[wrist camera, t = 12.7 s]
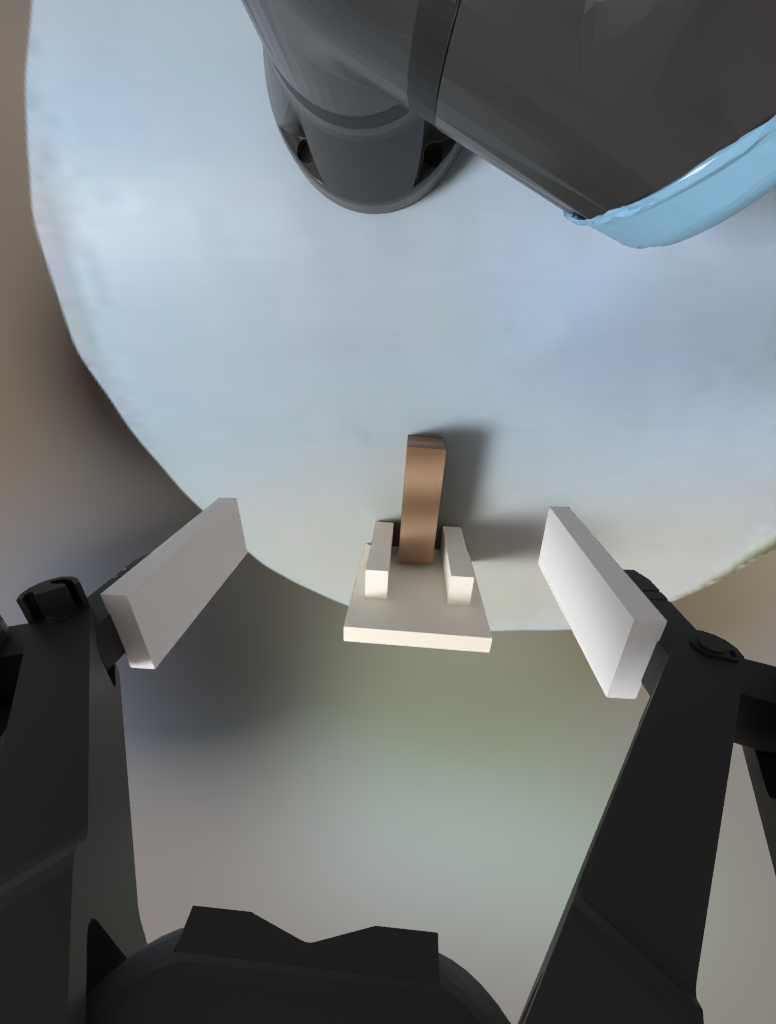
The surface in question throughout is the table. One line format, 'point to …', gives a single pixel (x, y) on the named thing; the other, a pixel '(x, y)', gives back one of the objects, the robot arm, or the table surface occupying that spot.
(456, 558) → the white twin-rail base
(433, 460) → the brown rectangular block
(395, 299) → the table surface
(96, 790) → the robot arm
